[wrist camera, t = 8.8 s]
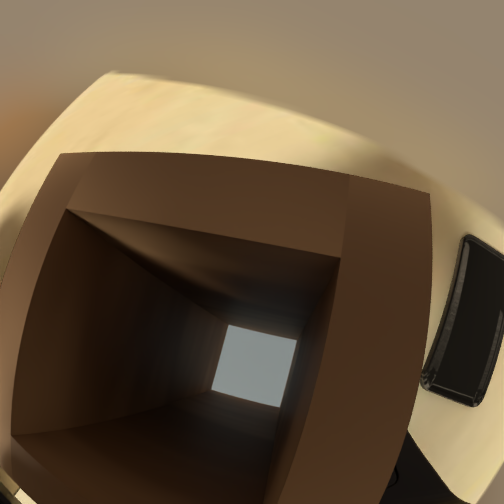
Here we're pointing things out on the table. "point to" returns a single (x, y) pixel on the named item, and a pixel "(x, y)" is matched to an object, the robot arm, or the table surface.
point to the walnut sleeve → (210, 331)
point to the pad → (254, 365)
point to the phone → (468, 327)
